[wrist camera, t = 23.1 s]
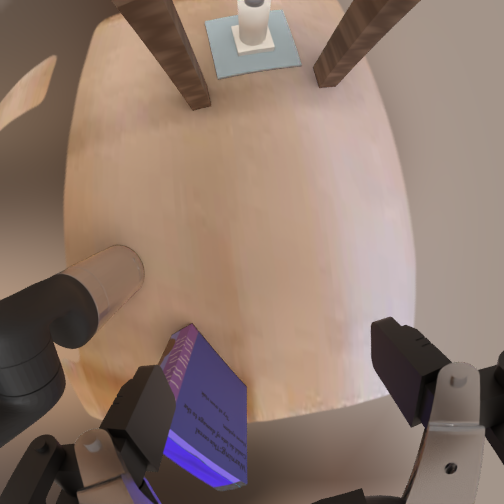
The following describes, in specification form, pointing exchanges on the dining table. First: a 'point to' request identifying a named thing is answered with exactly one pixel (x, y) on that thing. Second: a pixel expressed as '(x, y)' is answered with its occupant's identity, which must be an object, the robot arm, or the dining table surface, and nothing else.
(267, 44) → the white tall cylinder
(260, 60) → the mat
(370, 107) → the dining table surface
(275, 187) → the dining table surface
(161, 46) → the archway
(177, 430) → the cereal box
